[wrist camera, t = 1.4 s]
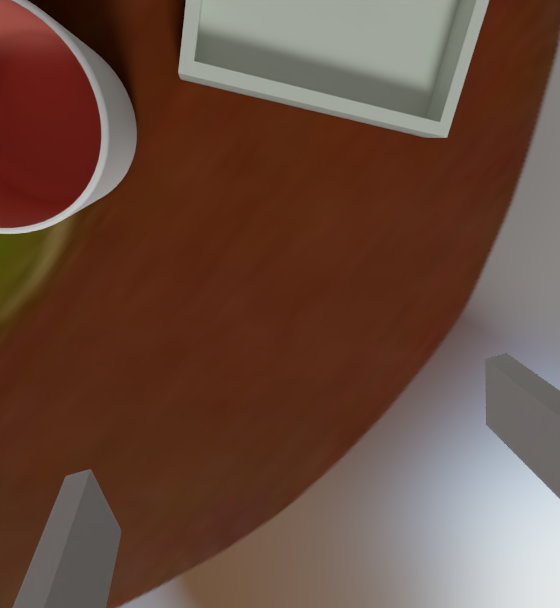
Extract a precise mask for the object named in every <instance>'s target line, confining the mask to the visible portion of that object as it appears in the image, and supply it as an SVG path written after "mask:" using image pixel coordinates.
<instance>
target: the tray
mask: <svg viewBox="0 0 560 608" xmlns="http://www.w3.org/2000/svg"><path fill="white" fill-rule="evenodd" d="M488 2H489V0H186V5H185V14H184V24H183V33H182V42H181V52H180V61H179V70H178V74H179V76H180V79H181V80H185V81H190V82H194V83H198V84H202V85H206V86H211V87H215V88H219V89H223V90H227V91H232V92H236V93H240V94H244V95H248V96H253V97H257V98H261V99H265V100H269V101H274V102H278V103H282V104H286V105H290V106H295V107H299V108H303V109H307V110H311V111H316V112H320V113H324V114H328V115H332V116H337V117H341V118H345V119H349V120H353V121H358V122H362V123H366V124H370V125H374V126H379V127H383V128H387V129H391V130H395V131H400V132H404V133H408V134H412V135H416V136H421V137H425V138H447V136H448V133H449V129H450V126H451V123H452V120H453V116H454V113H455V110H456V107H457V103H458V100H459V97H460V93H461V90H462V87H463V84H464V80H465V77H466V74H467V71H468V67H469V64H470V61H471V58H472V54H473V51H474V48H475V45H476V41H477V38H478V35H479V31H480V28H481V25H482V22H483V18H484V15H485V12H486V9H487V5H488Z"/></svg>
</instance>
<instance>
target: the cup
mask: <svg viewBox="0 0 560 608" xmlns="http://www.w3.org/2000/svg"><path fill="white" fill-rule="evenodd" d="M136 141H137V128H136V119H135V115H134V110H133V107H132V104H131V101H130V98H129V96H128V94H127V91H126V89H125V88H124V86H123V84H122V82H121V81H120V79H119V78H118V76H117V75H116V73H115V72H114V71H113V69H112V68H111V67H110V66H109V65H108V64H107V63H106V62H105V61H104V59H103V58H102V57H100V56H99V55H98V54H97V53H96V52H95V51H93V50H92V49H91V48H90V47H88V46H87V45H86V44H84V43H83V42H82V41H81V40H79V39H78V38H77V37H76V36H74V35H73V34H72V33H70V32H69V31H68V30H67V29H65V28H64V27H63V26H62V25H60V24H59V23H58V22H56V21H55V20H54V19H53V18H51V17H50V16H49V15H48V14H46V13H45V12H44V11H42V10H41V9H40V8H38V7H37V6H36V5H34V4H33V3H31V2H29V1H28V0H0V234H17V233H26V232H31V231H36V230H40V229H43V228H46V227H49V226H51V225H54V224H56V223H58V222H60V221H62V220H64V219H65V218H67V217H69V216H70V215H72V214H74V213H76V212H77V211H79V210H81V209H83V208H84V207H86V206H88V205H90V204H91V203H93V202H95V201H96V200H98V199H100V198H102V197H103V196H105V195H106V194H108V193H109V192H110V191H112V190H113V189H114V188H115V187H116V186H117V185H118V184H119V183H120V182H121V180H122V179H123V178H124V176H125V175H126V173H127V171H128V169H129V167H130V165H131V162H132V160H133V157H134V153H135V148H136Z"/></svg>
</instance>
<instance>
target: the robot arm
mask: <svg viewBox="0 0 560 608" xmlns="http://www.w3.org/2000/svg"><path fill="white" fill-rule="evenodd" d="M485 373H486V374H485V375H486V424H487V426H488V427H489V428H490V429H491V430H492V431H493V432H494V433H495V434H496V435H497V436H498V437H499V438H500V439H501V440H502V441H503V442H504V443H505V444H506V445H507V446H508V447H509V448H510V449H511V450H512V451H513V452H514V453H515V454H516V455H517V456H518V457H519V458H520V459H521V460H522V461H523V462H524V463H525V464H526V465H527V466H528V467H529V468H530V469H531V470H532V471H533V472H534V473H535V474H536V475H537V476H538V477H539V478H540V479H541V480H542V481H543V482H544V483H545V484H546V485H547V486H548V487H549V488H550V489H551V490H552V491H553V492H554V493H555V494H556V495H557V496H558V497H559V498H560V391H559V390H558V389H556V388H555V387H554V386H552V385H551V384H549V383H548V382H546V381H545V380H544V379H542V378H541V377H539V376H538V375H537V374H535V373H534V372H532V371H531V370H530V369H528V368H527V367H525V366H524V365H522V364H521V363H520V362H518V361H517V360H515V359H514V358H513V357H511V356H510V355H508V354H507V353H505V354H502V355H498V356H495V357H492V358H487V359H485ZM120 536H121V529H120V527H119V525H118V523H117V521H116V519H115V517H114V515H113V513H112V511H111V509H110V507H109V505H108V503H107V501H106V499H105V497H104V495H103V493H102V491H101V489H100V487H99V485H98V483H97V481H96V479H95V477H94V475H93V473H92V471H91V469H89V470H86V471H82V472H79V473H75V474H72V475H68V476H66V477H65V479H64V482H63V484H62V487H61V489H60V492H59V494H58V497H57V499H56V502H55V504H54V507H53V509H52V512H51V514H50V516H49V519H48V521H47V524H46V526H45V529H44V531H43V534H42V536H41V539H40V541H39V544H38V546H37V549H36V551H35V554H34V556H33V559H32V561H31V564H30V566H29V568H28V571H27V573H26V576H25V578H24V581H23V583H22V586H21V588H20V591H19V593H18V596H17V598H16V601H15V603H14V606H13V608H106V604H107V599H108V594H109V589H110V584H111V580H112V575H113V570H114V565H115V560H116V555H117V550H118V546H119V541H120Z"/></svg>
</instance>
